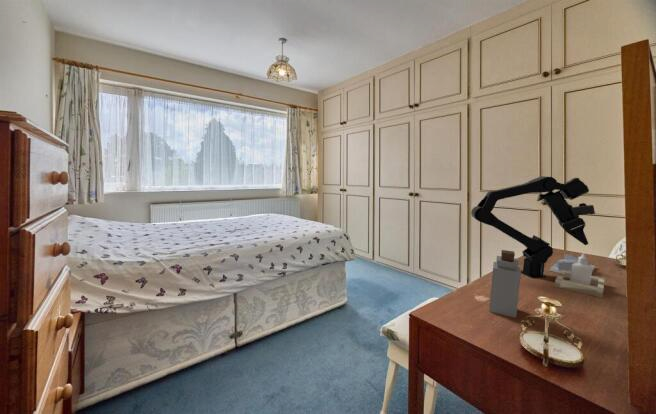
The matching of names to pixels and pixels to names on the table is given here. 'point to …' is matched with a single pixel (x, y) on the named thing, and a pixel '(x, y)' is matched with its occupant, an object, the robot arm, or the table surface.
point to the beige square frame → (580, 284)
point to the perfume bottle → (505, 285)
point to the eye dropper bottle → (581, 271)
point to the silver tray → (566, 264)
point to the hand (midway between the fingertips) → (584, 242)
